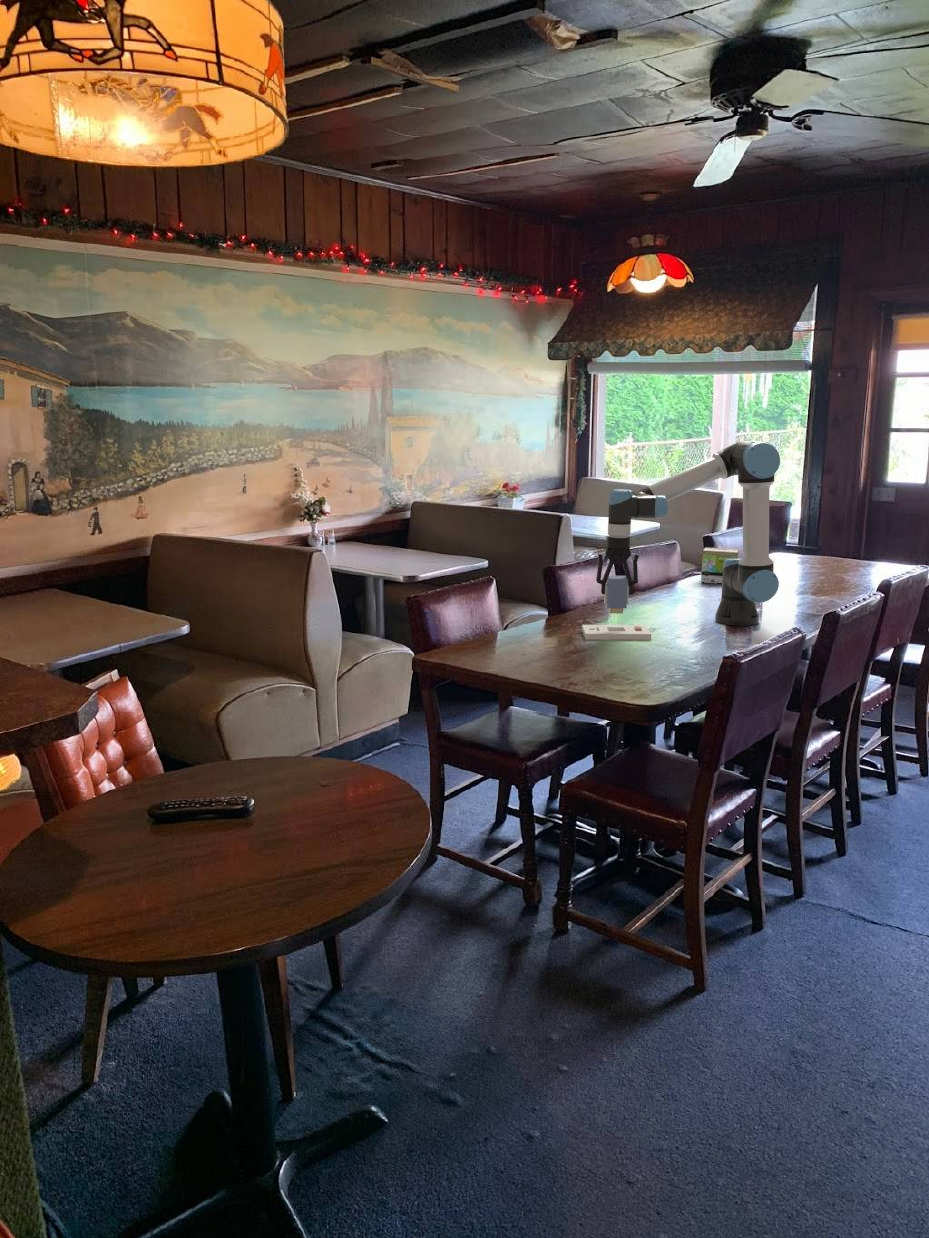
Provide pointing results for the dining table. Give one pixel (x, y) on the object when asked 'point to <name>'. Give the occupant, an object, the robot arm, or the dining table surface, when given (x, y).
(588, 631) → the socket plate
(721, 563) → the tea box
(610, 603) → the plug
